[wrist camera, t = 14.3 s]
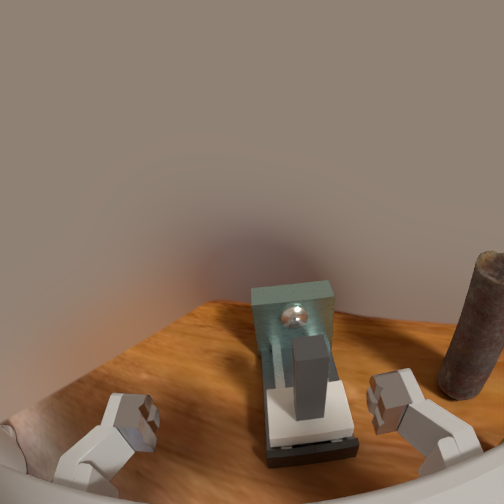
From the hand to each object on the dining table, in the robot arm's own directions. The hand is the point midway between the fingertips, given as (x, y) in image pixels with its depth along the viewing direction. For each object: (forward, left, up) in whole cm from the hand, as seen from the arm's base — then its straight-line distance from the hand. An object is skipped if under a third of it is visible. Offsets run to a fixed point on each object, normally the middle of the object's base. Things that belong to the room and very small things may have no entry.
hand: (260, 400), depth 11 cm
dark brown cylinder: (+26, +15, -26) cm, 40 cm away
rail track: (+4, +20, -26) cm, 33 cm away
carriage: (+4, +14, -23) cm, 27 cm away
